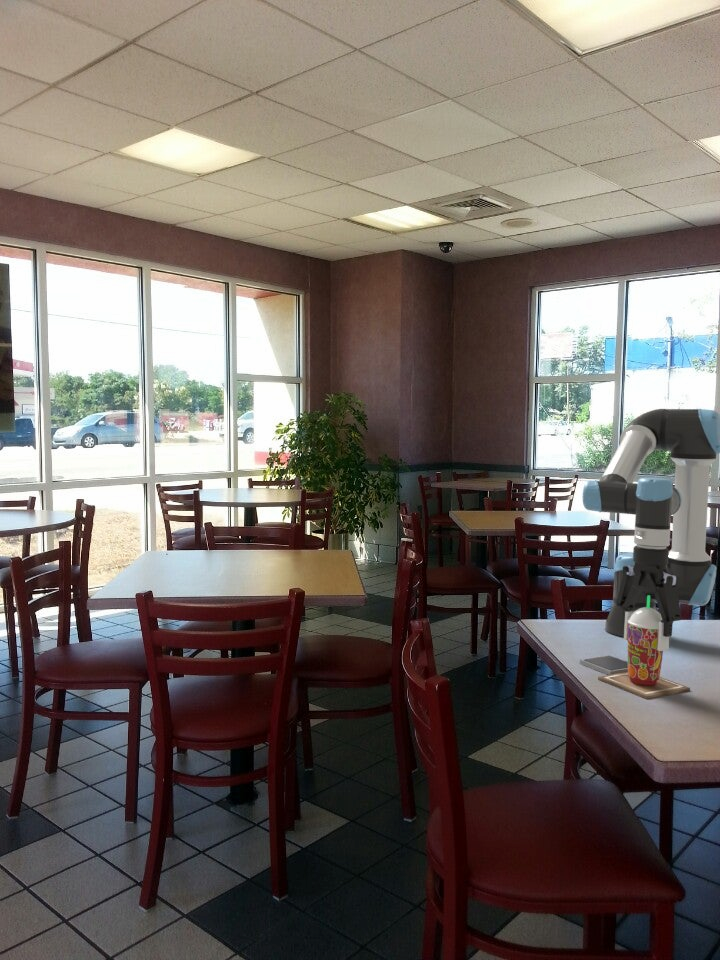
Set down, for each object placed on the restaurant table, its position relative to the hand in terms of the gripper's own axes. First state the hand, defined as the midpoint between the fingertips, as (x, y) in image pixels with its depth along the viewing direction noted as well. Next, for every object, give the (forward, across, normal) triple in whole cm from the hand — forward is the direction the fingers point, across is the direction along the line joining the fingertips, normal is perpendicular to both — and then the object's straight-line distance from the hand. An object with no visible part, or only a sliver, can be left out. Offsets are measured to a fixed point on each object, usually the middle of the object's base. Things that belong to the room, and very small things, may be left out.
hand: (645, 644), depth 175 cm
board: (+9, 0, 0) cm, 9 cm away
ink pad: (+9, -13, +3) cm, 16 cm away
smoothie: (+9, 0, 0) cm, 9 cm away
